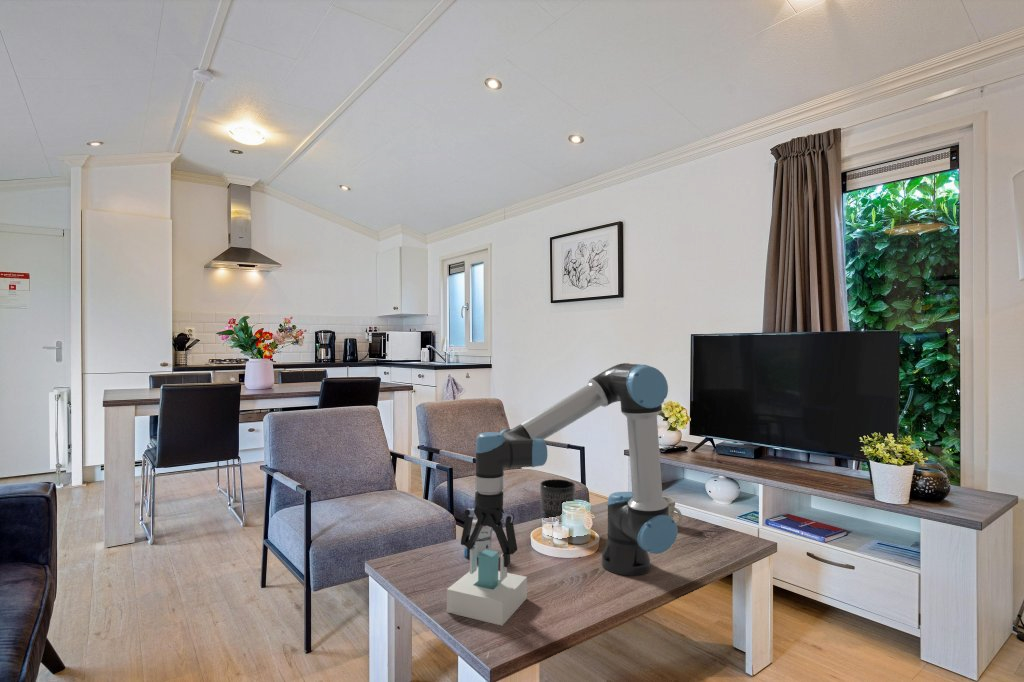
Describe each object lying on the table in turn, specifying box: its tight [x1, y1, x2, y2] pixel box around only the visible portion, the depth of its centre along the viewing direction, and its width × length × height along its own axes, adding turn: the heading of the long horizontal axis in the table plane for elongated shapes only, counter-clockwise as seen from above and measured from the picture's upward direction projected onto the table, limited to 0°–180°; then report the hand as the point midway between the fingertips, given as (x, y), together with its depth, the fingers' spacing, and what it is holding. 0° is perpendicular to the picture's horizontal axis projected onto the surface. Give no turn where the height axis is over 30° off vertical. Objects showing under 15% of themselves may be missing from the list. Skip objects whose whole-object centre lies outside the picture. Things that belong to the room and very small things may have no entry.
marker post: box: [477, 549, 499, 590], centre depth 149 cm, size 4×4×14 cm
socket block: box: [446, 566, 528, 626], centre depth 149 cm, size 16×16×6 cm
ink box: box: [463, 507, 493, 559], centre depth 183 cm, size 9×5×15 cm, turn 84°
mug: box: [662, 496, 683, 526], centre depth 213 cm, size 8×13×10 cm, turn 40°
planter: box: [539, 478, 576, 519], centre depth 207 cm, size 13×13×18 cm
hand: (488, 574), depth 149 cm, fingers open, 8 cm apart
